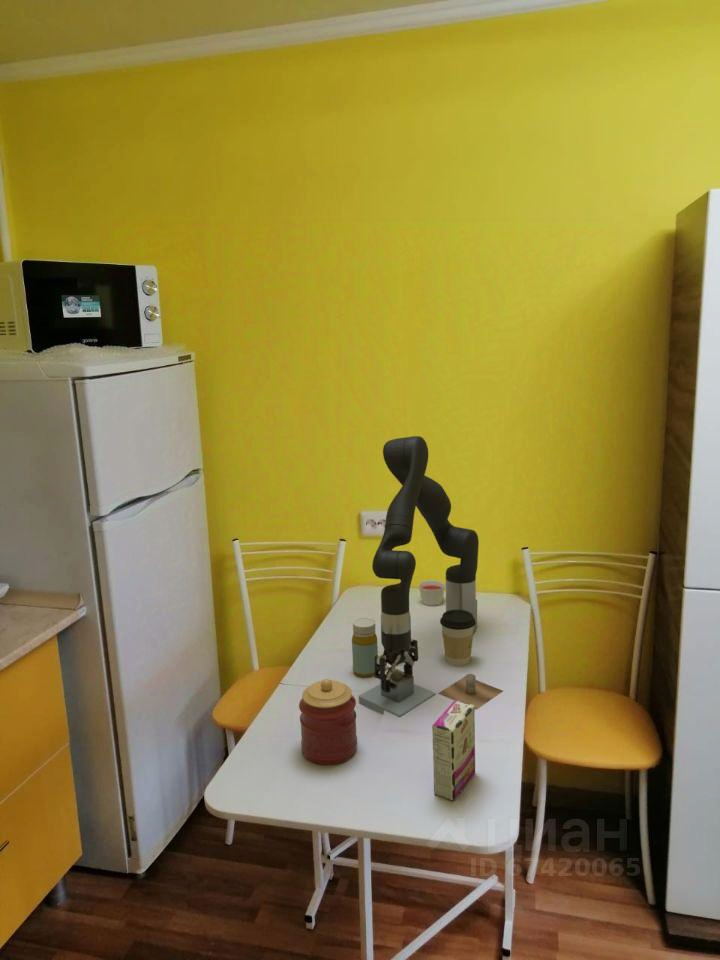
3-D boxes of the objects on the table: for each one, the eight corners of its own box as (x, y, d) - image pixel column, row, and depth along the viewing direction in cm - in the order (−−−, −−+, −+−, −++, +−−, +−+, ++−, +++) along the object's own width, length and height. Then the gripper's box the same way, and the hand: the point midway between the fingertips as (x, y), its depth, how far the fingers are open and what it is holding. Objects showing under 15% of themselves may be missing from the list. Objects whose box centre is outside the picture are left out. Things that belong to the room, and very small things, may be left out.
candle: (419, 597, 254) (419, 580, 253) (445, 597, 253) (444, 580, 252) (418, 607, 245) (418, 589, 244) (445, 607, 244) (445, 590, 243)
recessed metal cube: (396, 686, 190) (395, 668, 189) (413, 693, 186) (413, 676, 185) (380, 695, 186) (380, 677, 185) (398, 703, 182) (398, 684, 181)
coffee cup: (482, 663, 205) (482, 614, 201) (462, 677, 198) (462, 626, 194) (453, 653, 211) (453, 605, 208) (433, 666, 204) (432, 616, 201)
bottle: (348, 675, 201) (346, 625, 197) (360, 664, 207) (358, 615, 203) (371, 680, 198) (369, 629, 194) (382, 669, 204) (381, 619, 200)
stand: (465, 681, 196) (465, 660, 194) (503, 696, 187) (503, 674, 186) (438, 698, 187) (437, 677, 186) (476, 715, 179) (476, 693, 178)
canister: (304, 733, 174) (300, 666, 170) (358, 733, 173) (356, 665, 169) (298, 766, 161) (294, 695, 157) (356, 766, 160) (353, 694, 156)
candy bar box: (454, 766, 159) (454, 698, 156) (475, 772, 157) (476, 704, 153) (432, 794, 150) (431, 723, 146) (454, 802, 148) (453, 730, 144)
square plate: (394, 682, 196) (394, 655, 194) (435, 700, 186) (435, 671, 185) (358, 703, 186) (357, 674, 185) (400, 722, 177) (399, 693, 175)
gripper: (402, 613, 189) (404, 670, 193) (365, 631, 179) (367, 691, 183) (425, 621, 184) (426, 679, 188) (388, 640, 174) (389, 701, 178)
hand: (397, 685), depth 185 cm, fingers open, 8 cm apart
